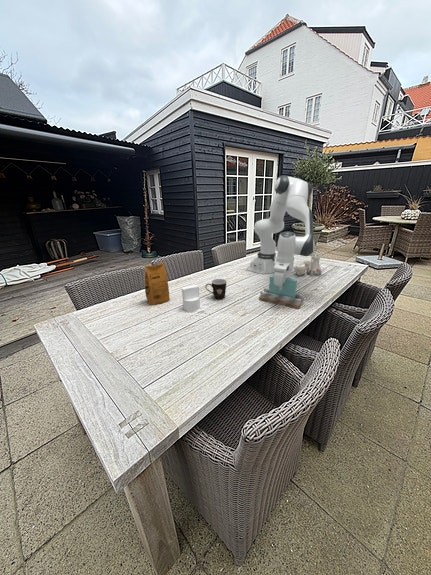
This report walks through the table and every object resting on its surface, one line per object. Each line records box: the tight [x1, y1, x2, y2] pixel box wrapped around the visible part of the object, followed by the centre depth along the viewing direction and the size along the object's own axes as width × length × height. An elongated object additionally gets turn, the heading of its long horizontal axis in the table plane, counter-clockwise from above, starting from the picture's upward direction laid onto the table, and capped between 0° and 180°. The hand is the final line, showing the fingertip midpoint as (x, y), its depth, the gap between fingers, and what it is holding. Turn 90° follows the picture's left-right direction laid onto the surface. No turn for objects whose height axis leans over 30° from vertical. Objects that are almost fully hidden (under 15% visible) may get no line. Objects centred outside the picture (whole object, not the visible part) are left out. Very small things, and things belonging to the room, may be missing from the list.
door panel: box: [268, 274, 298, 298], centre depth 124 cm, size 14×3×10 cm, turn 58°
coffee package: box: [144, 262, 171, 306], centre depth 127 cm, size 10×12×22 cm
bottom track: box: [258, 287, 305, 310], centre depth 126 cm, size 22×10×4 cm, turn 58°
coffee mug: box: [204, 278, 228, 301], centre depth 132 cm, size 12×9×10 cm
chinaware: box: [293, 252, 323, 277], centre depth 166 cm, size 28×17×17 cm, turn 143°
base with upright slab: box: [181, 284, 201, 312], centre depth 120 cm, size 9×9×12 cm
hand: (282, 288), depth 124 cm, fingers closed on door panel, 3 cm apart
